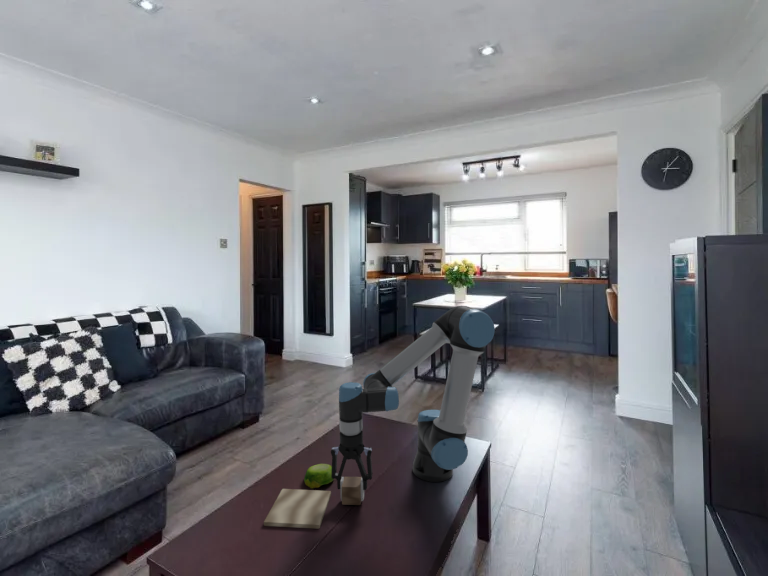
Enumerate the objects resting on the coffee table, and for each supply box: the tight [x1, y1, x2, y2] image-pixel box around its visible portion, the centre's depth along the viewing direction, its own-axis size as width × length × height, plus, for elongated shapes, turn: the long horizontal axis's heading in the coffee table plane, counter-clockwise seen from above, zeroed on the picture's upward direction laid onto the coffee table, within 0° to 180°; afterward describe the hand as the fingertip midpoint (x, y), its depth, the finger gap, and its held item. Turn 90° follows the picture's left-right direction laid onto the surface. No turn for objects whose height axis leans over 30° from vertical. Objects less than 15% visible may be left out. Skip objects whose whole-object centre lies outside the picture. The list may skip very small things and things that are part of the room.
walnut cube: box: [341, 476, 362, 506], centre depth 129 cm, size 6×6×6 cm
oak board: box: [263, 488, 332, 530], centre depth 125 cm, size 17×17×1 cm
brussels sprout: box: [303, 463, 334, 490], centre depth 142 cm, size 12×11×5 cm
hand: (352, 498), depth 129 cm, fingers closed on walnut cube, 6 cm apart
